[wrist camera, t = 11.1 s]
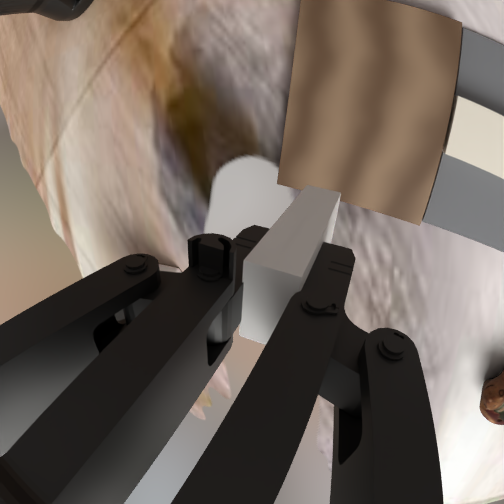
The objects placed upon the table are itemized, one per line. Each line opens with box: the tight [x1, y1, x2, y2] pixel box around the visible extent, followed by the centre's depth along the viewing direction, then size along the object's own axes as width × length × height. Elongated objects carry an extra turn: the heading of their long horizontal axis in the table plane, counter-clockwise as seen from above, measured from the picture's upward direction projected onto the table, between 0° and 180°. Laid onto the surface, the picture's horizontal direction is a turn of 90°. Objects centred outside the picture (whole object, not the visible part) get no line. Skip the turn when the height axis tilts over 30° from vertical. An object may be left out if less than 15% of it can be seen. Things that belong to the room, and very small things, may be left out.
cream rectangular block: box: [442, 96, 504, 179], centre depth 22 cm, size 9×6×2 cm, turn 84°
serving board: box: [277, 0, 462, 226], centre depth 26 cm, size 16×22×2 cm
